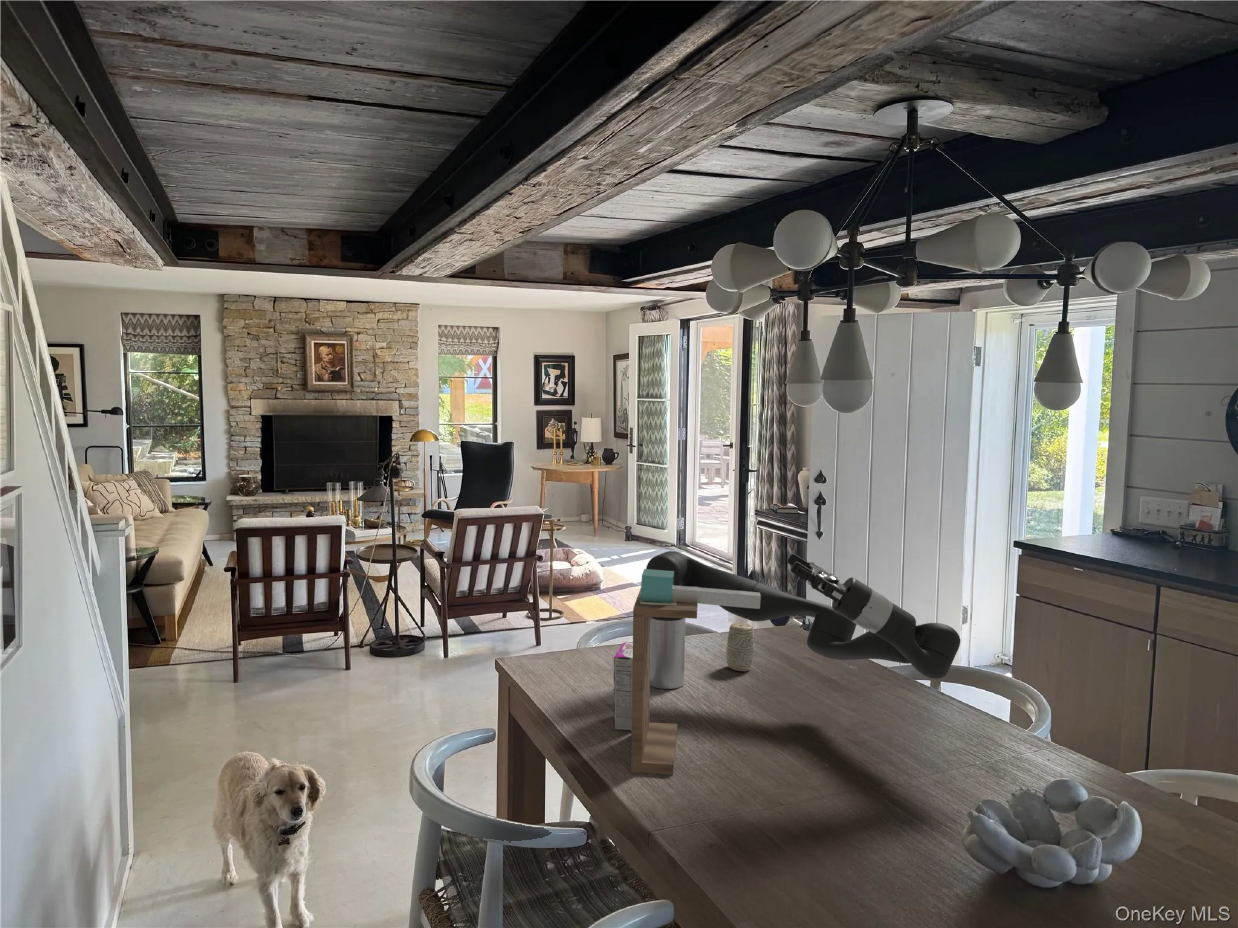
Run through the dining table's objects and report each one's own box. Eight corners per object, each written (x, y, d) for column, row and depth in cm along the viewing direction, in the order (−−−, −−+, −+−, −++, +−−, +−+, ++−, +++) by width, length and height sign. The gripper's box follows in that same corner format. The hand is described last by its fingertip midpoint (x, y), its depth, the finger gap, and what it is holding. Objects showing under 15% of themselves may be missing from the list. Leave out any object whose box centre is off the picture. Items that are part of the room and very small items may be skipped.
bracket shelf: (640, 730, 179) (641, 583, 176) (695, 733, 177) (698, 585, 175) (631, 772, 159) (633, 607, 156) (694, 775, 158) (697, 609, 155)
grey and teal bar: (642, 593, 166) (644, 568, 166) (758, 603, 164) (760, 578, 163) (640, 600, 160) (641, 575, 160) (760, 610, 158) (762, 584, 158)
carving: (750, 674, 216) (751, 629, 216) (722, 670, 220) (723, 625, 219) (757, 667, 222) (758, 623, 221) (730, 663, 225) (730, 620, 224)
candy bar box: (622, 711, 190) (623, 641, 189) (643, 713, 189) (644, 642, 188) (612, 730, 179) (612, 656, 178) (634, 732, 178) (635, 657, 177)
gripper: (866, 581, 169) (797, 539, 170) (880, 598, 154) (805, 552, 155) (846, 611, 170) (778, 569, 171) (858, 631, 155) (783, 585, 156)
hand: (791, 561), depth 163 cm, fingers open, 8 cm apart
